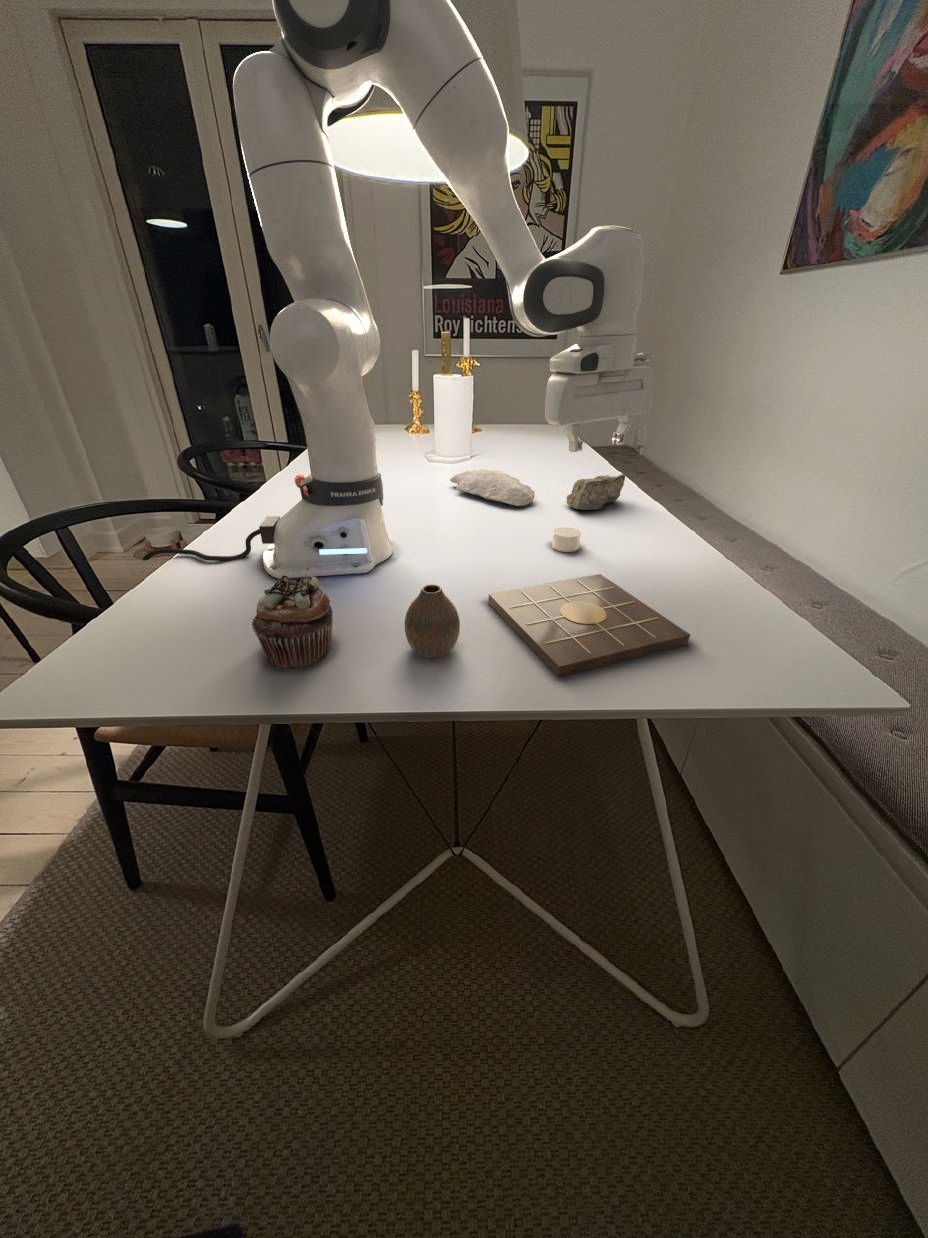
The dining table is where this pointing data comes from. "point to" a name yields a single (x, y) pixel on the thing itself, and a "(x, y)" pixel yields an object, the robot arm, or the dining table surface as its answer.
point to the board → (585, 623)
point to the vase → (432, 623)
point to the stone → (494, 486)
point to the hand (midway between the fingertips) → (597, 447)
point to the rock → (595, 492)
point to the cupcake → (294, 622)
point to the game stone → (566, 539)
